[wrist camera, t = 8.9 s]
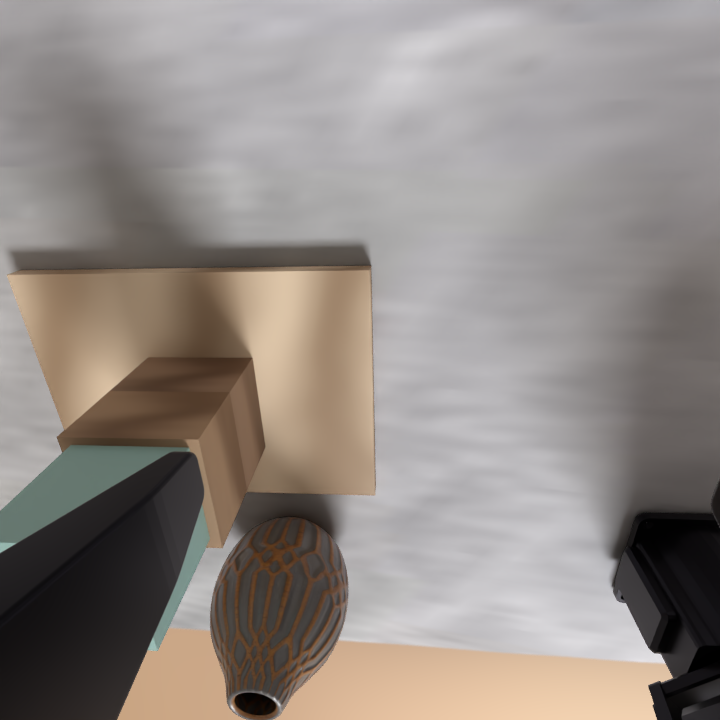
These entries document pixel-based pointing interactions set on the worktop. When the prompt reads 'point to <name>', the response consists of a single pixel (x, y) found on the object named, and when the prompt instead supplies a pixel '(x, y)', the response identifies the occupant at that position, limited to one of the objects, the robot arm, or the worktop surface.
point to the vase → (277, 613)
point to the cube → (83, 482)
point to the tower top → (175, 441)
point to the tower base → (209, 378)
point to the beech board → (225, 352)
